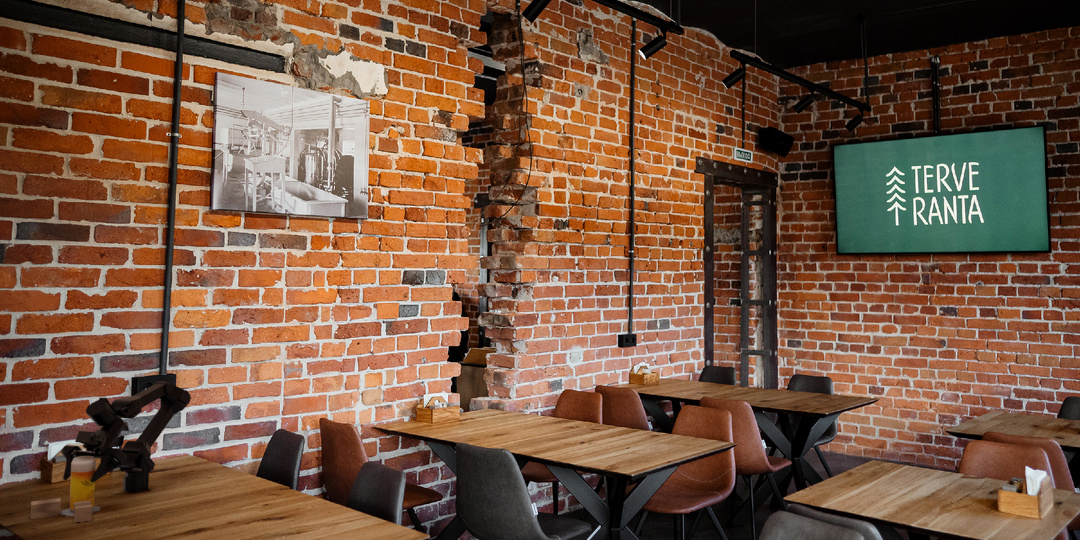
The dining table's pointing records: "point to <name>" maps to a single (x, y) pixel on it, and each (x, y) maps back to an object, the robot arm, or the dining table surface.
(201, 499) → the dining table surface
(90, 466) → the beer can
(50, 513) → the beam vee
